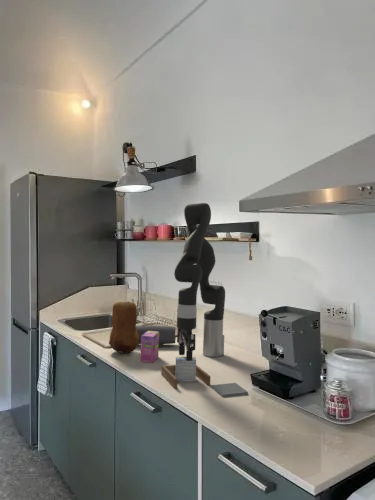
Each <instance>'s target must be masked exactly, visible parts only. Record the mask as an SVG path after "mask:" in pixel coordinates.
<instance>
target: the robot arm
mask: <svg viewBox="0 0 375 500" xmlns="http://www.w3.org/2000/svg"><path fill="white" fill-rule="evenodd" d="M183 215H184V220H185V224H186V227H187V231H188V233H189V236H188V237H187V240H186V241H185V244H184V246H183V251H182V256H181V257H180V259H179V261H178V263H177V264H176V266H175V269H174V272H173V274H174V279H175V280H176V281H177V282H179V283H191V285H190V286H189V287H183V288H180V289H179V290H178V298H177V301H178V302H177V309H176V310H177V311H176V328H177V334H176V343H177V344H178V355H179V356H185V357H186V360H187V361H192V357H193V351H196V334H195V333H193V330H196V328H197V315H198V314H197V313H198V312H197V311H198V309H197V295H198V288H199V290H200V297H201V301H202V302H203V303H204V304H206V305H213V306H214V308H213V309H212V310H207V311H205V312H204V313H203V337H202V338H203V340H202V355H203V356H205V357H209V358H216V357H217V358H219V357H222V356H225V335H224V334H223V333H224V314H225V303H226V289H225V287H224V286H223V285H217V284H213V285H212V284H210V282H209V278H210V275H211V273H212V271H213V269H214V267H215V265H216V256H215V255H216V254H215V252H214V251H215V249H214V247H213V245H211V243H210V242H209V241H208V240H207V239H206V238H205V237H206V235H207V232H208V229H209V226H210V224H211V219H212V210H211V207H210V205H209V203H206V202H201V203H192V204H191V203H190V204H186V205H185V206H184V209H183ZM185 353H186V354H185Z"/></svg>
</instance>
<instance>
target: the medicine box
mask: <svg viewBox="0 0 375 500" xmlns="http://www.w3.org/2000/svg"><path fill="white" fill-rule="evenodd" d="M175 365H176V370H175V374H174V376H175V377H176V378H177V379H178V382H177V383H179V382H181V383H182V382H184V383H187V382H188V383H189V382H190V383H193V382H194V383H196V381H197V376H196V365H197V358H196V356H192V361H187V360H186V356H175Z"/></svg>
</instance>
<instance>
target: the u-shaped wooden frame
mask: <svg viewBox="0 0 375 500" xmlns="http://www.w3.org/2000/svg"><path fill="white" fill-rule="evenodd" d="M175 370H176V364H166V365H161V371H160V373H161V374H160V375H161V376H162V377H163V378H164V379H165V381H167V382H168V384H169V385H170V386H172V388H173V389H174V390H177V389H178V383H179V382H178V379H177V378H176V377H175ZM196 378H198V379H199V380H201V382H202V383H204V385H206V386H208V387H209V386H211V375H210V374H209V373H207V372H206V371H205V370H204V369H203V368H201V367H200V366H198V365H197V364H196Z"/></svg>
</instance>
